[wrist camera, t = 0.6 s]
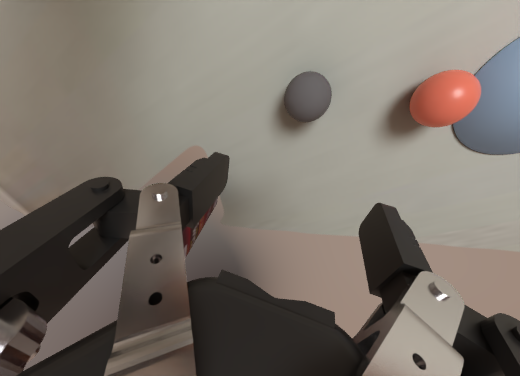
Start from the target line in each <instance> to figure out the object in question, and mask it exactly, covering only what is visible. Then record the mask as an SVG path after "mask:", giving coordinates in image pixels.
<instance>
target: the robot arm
mask: <svg viewBox="0 0 520 376" xmlns="http://www.w3.org/2000/svg"><path fill="white" fill-rule="evenodd" d="M228 169H229V156H227V155H224V154H221V153H218V152H215V153H213V154H212V155H211V156H210V157H209V158H208V159H207V158H202V159H199V160H196V161H195V162H194V163H192V164H191V165H190V166H189V167H187V168H186V169H185V170H183V171H182V172H181V173H180V174H179V175H177V176H176V177H175V178H174V179H172V180H171V181H170V182H169V183H156V184H152V185H149V186H147V187H145V188H144V189H143V190H142V191H139V190H128V189H123V187H122V184H121V182H120V181H119V180H118V179H116V178H112V177H99V178H94V179H91V180H88V181H86V182H84V183H82V184H80V185H79V186H77V187H75V188H73V189H72V190H70V191H68V192H66V193H65V194H63V195H61V196H59V197H58V198H56V199H54V200H52V201H51V202H49V203H47V204H45V205H44V206H42V207H40V208H38V209H37V210H35V211H33V212H31V213H30V214H28V215H26V216H24V217H23V218H21V219H19V220H17V221H16V222H14V223H12V224H10V225H9V226H7V227H5V228H3V229H2V230H0V376H520V321H519V320H517V319H515V318H513V317H511V316H509V315H506V314H502V313H499V314H496V315H493V316H491V317H489V318H486V317H485V316H483V315H481V314H480V313H478V312H476V311H474V310H473V309H471V308H469V307H468V306H466V305H464V302H463V299H462V298H461V296H460V295H459V293H458V292H457V290H456V289H455V288H454V287H453V286H452V285H451V284H450V283H448V282H447V281H446V280H445V279H443V278H442V277H440V276H438V275H436V274H434V273H433V272H432V270H431V268H430V266H429V264H428V262H427V260H426V258H425V256H424V254H423V252H422V250H421V248H420V247H419V244H418V242H417V240H415V239H416V238H415V236H414V234H413V232H412V230H411V229H410V227H409V226H408V225H407V224H406V223H405V222H404V221H403V220H401V218H400V216H399V214H398V211H397V209H396V208H395V207H392V206H388V205H385V204H382V203H377V204H375V205H374V207H373V208H372V210H371V211H370V212H369V214H368V215H367V216H366V218H365V219H364V221H363V222H362V223H361V225H360V228H359V238H360V244H361V249H362V254H363V259H364V265H365V270H366V275H367V281H368V286H369V291H370V294H373V295H376V296H378V297H381V298H382V303H381V304H379V305H378V307H377V308H376V309H375V311H374V312H373V313H372V315H371V316H370V317H369V319H368V320H367V321H366V323H365V324H364V325H363V327H362V328H361V329H360V331H359V332H358V333H357V334H356V335H355V336H354V337H353V338H351V337H350V336H349V335H348V334H347V333H346V332H345V331H344V330H343V329H341V328H340V327H339V326H338V325H336V324H335V314H334V312H332V311H330V310H327V309H324V308H322V307H319V306H316V305H314V304H311V303H308V302H306V301H297V300H287V299H278V298H274V297H272V296H271V295H269V294H268V293H266V292H265V291H263V290H262V289H261V288H259V287H258V286H256V285H255V284H254V283H252V282H251V281H249V280H248V279H245V278H243V277H240V276H238V275H235V274H232V273H230V272H227V271H224V270H221V273H220V274H219V277H218V278H217V277H205V278H199V279H196V280H192V281H190V282H187V277H186V267H185V257H184V247H183V236H182V230H183V229H184V228H185V227H186V226H187V227H189V228H192V229H194V228H195V226H196V225H197V224H198V222H199V221H200V220H201V218H202V217H203V216H204V215H205V213H206V212H207V211H208V209H209V208H210V207H211V205H212V204H213V203H214V201H215V200H216V199H217V198H218V196H219V195H220V194H221V192H222V191H223V190H224V188H225V186H226V183H227V178H228ZM92 223H93V224H94V226H95V227H94V228H93V229H91V230H90V231H89V232H88V233H86V234H85V235H84V236H83V237H81V238H80V239H79V240H78V241H77V242H75V243H74V244H73V245H72V246H70V247H69V244H70V242H71V240H72V239H73V238H74V237H75V236H76V235H78V234H79V233H80V232H81V231H83V230H84V229H85V228H87V227H88V226H89V225H91V224H92ZM128 240H129V243H128V250H127V257H126V264H125V271H124V278H123V284H122V292H121V298H120V305H119V312H118V319H117V320H116V321H114V322H113V323H111V324H109V325H107V326H105V327H103V328H102V329H100V330H98V331H96V332H94V333H92V334H91V335H89V336H87V337H85V338H83V339H81V340H80V341H78V342H76V343H74V344H72V345H70V346H69V347H67V348H65V349H63V350H61V351H59V352H57V353H56V354H54V355H52V356H50V357H48V358H46V359H45V360H43V361H41V362H39V363H37V364H36V365H34V366H32V367H30V368H28V369H26V370H25V371H23V370H24V367H25V365H26V363H27V362H29V361H30V360H32V359H33V358H34V357H35V356H36V354H37V353H38V352H39V350H40V347H41V345H40V344H41V342H42V341H43V339H44V337H45V334H46V331H47V323H48V322H49V321H50V320H51V319H52V318H53V317H54V316H55V315H56V314H57V313H58V312H59V311H60V310H61V309H62V308H63V307H64V306H65V305H66V304H67V303H68V302H69V301H70V300H71V298H73V297H74V295H75V294H76V293H77V292H78V291H79V290H80V289H81V288H82V287H83V286H84V285H85V284H86V283H87V282H88V281H89V280H90V279H91V278H92V277H93V276H94V275H95V274H96V273H97V272H98V271H99V270H100V269H101V268H102V267H103V266H104V265H105V263H107V262H108V261H109V260H110V259H111V257H113V255H114V254H115V253H116V252H117V251H118V250H119V249H120V248H121V247H122V246H123V245H124V244H125V243H126V242H127V241H128ZM68 247H69V248H68Z"/></svg>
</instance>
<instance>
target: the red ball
mask: <svg viewBox="0 0 520 376" xmlns="http://www.w3.org/2000/svg"><path fill="white" fill-rule="evenodd" d="M480 96H481V85H480V82H479V80H478V79H477V78H476V77H475V76H474V75H473V74H471V73H469V72H466V71H462V70H449V71H444V72H440V73H438V74H435V75H433V76H431V77H430V78H428V79H426V80H425V81H424V82H423V83H422V84H420V85H419V87H418V88H417V89H416V90H415V92H414V93H413V95H412V97H411V100H410V107H409V108H410V113H411V115H412V117H413V118H414V120H415V121H417V122H418V123H420V124H421V125H424V126H428V127H443V126H448V125H451V124H453V123H456V122H458V121H460V120H461V119H463V118H464V117H466V116H467V115H468V114H469V113H470V112H472V110H473V109H474V108H475V107H476V105H477V104H478V102H479V99H480Z"/></svg>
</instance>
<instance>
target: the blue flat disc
mask: <svg viewBox="0 0 520 376" xmlns="http://www.w3.org/2000/svg"><path fill="white" fill-rule="evenodd" d="M474 76H475V77H476V78H477V79H478V80H479V82H480V85H481V96H480V99H479V102H478V104H477V105H476V107H475V108H474V109H473V110H472V112H470V113H469V114H468V115H467V116H466V117H464V118H463V119H461V120H460V121H458V122H456V123H453V127H454V131H455V134H456V136H457V137H458V139H459V140H460V141H461V142H462V143H463V144H464V145H465V146H467V147H468V148H470V149H472V150H475V151H477V152H481V153H486V154H502V155H503V154H514V153H520V37H519V38H517V39H516V40H514V41H513V42H512V43H510V44H509V45H507V46H506V47H504V48H503V49H502V50H501V51H499V52H498V53H497V54H496V55H494V56H493V57H492V58H491V59H490V60H489V61H488V62H487V63H486V64H485V65H484V66H482V68H481V69H480V70H479V71H478V72H477V73H476V74H475V75H474Z"/></svg>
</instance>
